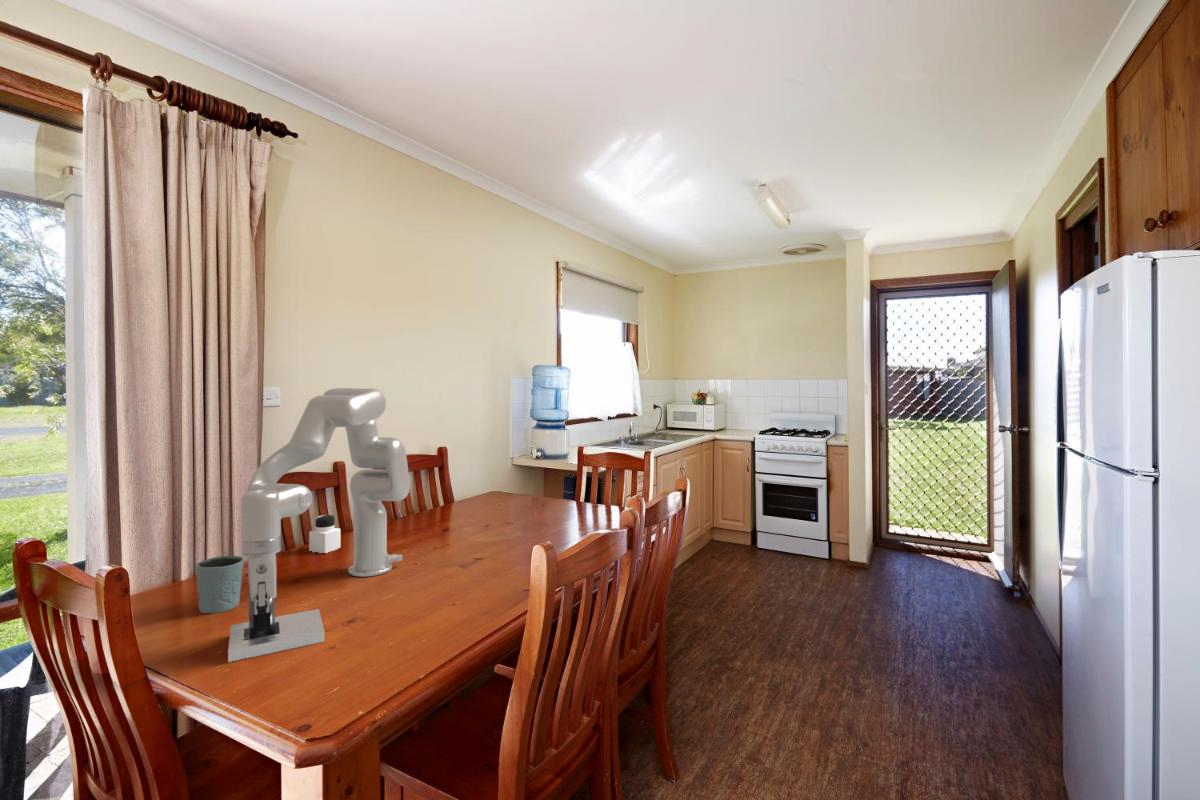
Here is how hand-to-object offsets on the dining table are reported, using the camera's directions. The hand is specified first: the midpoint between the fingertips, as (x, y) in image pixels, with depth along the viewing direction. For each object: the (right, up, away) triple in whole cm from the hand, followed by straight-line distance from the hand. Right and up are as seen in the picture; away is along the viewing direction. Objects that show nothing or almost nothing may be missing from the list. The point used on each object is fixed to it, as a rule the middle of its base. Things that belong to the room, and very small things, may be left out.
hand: (262, 624), depth 123 cm
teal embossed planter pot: (-23, -3, +19) cm, 30 cm away
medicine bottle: (-20, -2, +68) cm, 71 cm away
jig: (+3, -4, +2) cm, 5 cm away
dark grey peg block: (0, -2, 0) cm, 2 cm away
